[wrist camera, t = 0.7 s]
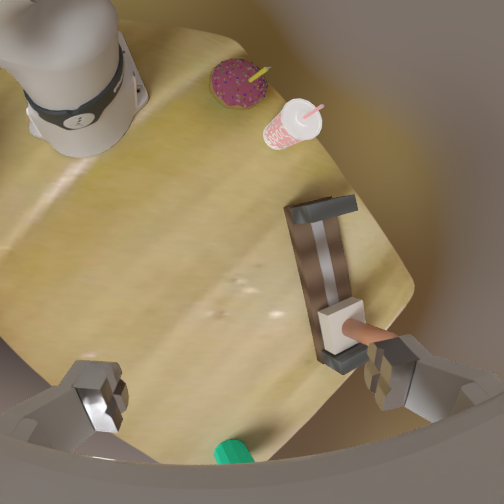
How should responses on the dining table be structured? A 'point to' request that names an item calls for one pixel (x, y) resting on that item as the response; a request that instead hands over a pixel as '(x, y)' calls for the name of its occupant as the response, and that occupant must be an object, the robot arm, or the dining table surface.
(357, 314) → the peach cylinder post
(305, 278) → the rail
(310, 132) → the beverage cup
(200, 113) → the dining table surface
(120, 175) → the dining table surface
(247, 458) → the candle
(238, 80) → the cupcake
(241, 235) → the dining table surface
